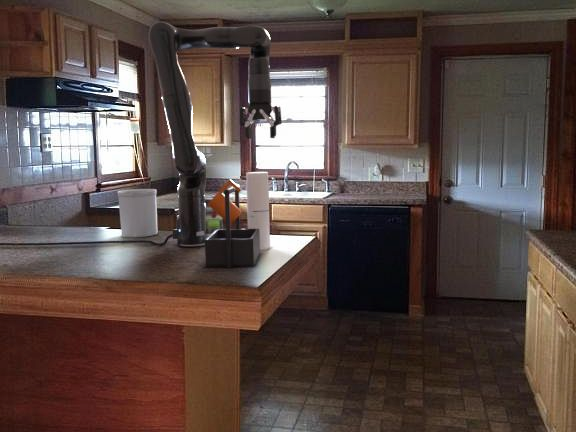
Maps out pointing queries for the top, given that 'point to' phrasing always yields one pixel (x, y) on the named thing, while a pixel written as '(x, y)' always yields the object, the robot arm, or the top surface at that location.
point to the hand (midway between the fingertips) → (260, 138)
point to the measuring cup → (219, 203)
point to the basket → (232, 242)
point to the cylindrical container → (258, 206)
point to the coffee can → (212, 218)
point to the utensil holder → (138, 212)
